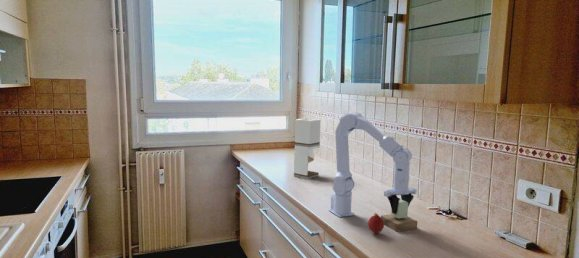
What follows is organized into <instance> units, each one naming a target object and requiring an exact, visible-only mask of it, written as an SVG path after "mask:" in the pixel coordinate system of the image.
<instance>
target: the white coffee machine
mask: <svg viewBox="0 0 579 258" xmlns="http://www.w3.org/2000/svg"><path fill="white" fill-rule="evenodd" d="M321 120H322V119H312V120H311V119H309V120H308V117H307V118H297V119H295V120H294V121H295V125H294V155H293V157H294V158H293V159H294V160H293V162H294V163H293V164H294V166H293V177H295V176H296V177H297V178H301V179H305V178H306V180H310V179H313V178H312V177H314V178H316V177H315V176H317V177H319V176H318V175H319V172H318V171H317V172H316V171H311V170H309V169H308V168H309V163H311V162H313V161H315V160H314V159H315V149H319V148H321V147H320V145H321V143H320V142H321ZM296 177H295V178H296Z"/></svg>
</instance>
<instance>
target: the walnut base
mask: <svg viewBox="0 0 579 258" xmlns="http://www.w3.org/2000/svg"><path fill="white" fill-rule="evenodd" d="M380 217H381V218H382V220H383V222H384V226H385V227H388V228H390V229H391V230H393V231H395V232H396V233H397V232H402V231H409V230H415V229H418V220H416V219H414V218H412V217H410V216H408V215H407V217H405V218H396V217H394V216H392V215H391V213H389V214H383V215H380Z"/></svg>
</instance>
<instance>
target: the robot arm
mask: <svg viewBox="0 0 579 258" xmlns="http://www.w3.org/2000/svg"><path fill="white" fill-rule="evenodd" d="M354 130H361V131H362V130H363V131H365V133H367V134H368V135H369V136H371V137H372V138H373V139H375V140H376V141H378V144H379V148H381V149H382V150H383V151H384V152H386V153H387V154H388V155H389V156H390V157H392V160H393V162H394V171H393V172H394V173H393V187H392V188H391V189H388V190H384V191H383V196H384V197H386V198H387V199H388V203H390V208H391V210H392V213H394V214H397V209H398V203H399V200H400V198H401V200H403V201H406V202H408V208H409V206H410V204H411V202H412V201H413V200H414V198H415V197H414V195H417V188H415V187H410V188H409V183H410V182H409V181H410V163H411V162H410V161H411V160H412V157H413V156H412V152H411V151H410V149H409V148H406V147H405V146H404V145H403V144H402V145H401V144H400V143H398V142H397V141H396V140H395V137H394V136H390V135H385V134H384V133H382V131H381V130H379V129H378V128H377V127H376V126H375V125H374V124H373V123H372V122H371V121H369V120H368V118H367V117H365V116H364V115H362V114H361V113H360V112H353V113H345V114H344V115H342V117H340V118H339V122H338V125H337V126H336V129H335V135H334V136H335V152H336V153H335V154H336V174H335V175H334V179H333V180H334V181H333V185H332V190H333V192H332V193H331V196H330V208H328V211H329V212H330V213H332V214H334V215H335V216H337V217H338V218H341V217H343V218H344V217H351V216H355V215H356V213H354V212H352V199H353V198H352V196H353V194H352V193H353V192H352V191H353V189H354V187H355V181H354V178H353V174H352V173H351V170H350V154H349V153H350V151H349V150H350V149H349V135H350V134H351V133H352V132H353V131H354ZM413 194H414V195H413ZM398 196H400V197H398Z"/></svg>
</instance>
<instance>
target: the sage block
mask: <svg viewBox="0 0 579 258" xmlns="http://www.w3.org/2000/svg"><path fill="white" fill-rule="evenodd" d="M408 211H409V207H408V202H406V201H403V200H402V199H400V200H399V203H398V209H397V214H394V213H392V209H391V213H390V214H391V215H392V216H394V217H396V218H405V217H407V216H408Z"/></svg>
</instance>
